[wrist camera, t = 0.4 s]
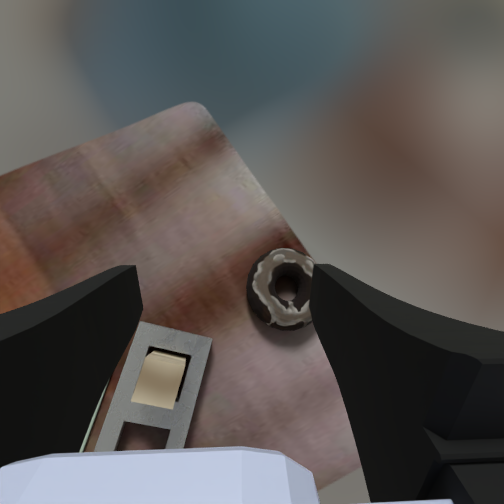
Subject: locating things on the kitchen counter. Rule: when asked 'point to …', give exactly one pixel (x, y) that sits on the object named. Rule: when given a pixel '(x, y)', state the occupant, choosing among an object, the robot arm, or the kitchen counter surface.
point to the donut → (264, 293)
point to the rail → (149, 414)
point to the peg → (159, 379)
